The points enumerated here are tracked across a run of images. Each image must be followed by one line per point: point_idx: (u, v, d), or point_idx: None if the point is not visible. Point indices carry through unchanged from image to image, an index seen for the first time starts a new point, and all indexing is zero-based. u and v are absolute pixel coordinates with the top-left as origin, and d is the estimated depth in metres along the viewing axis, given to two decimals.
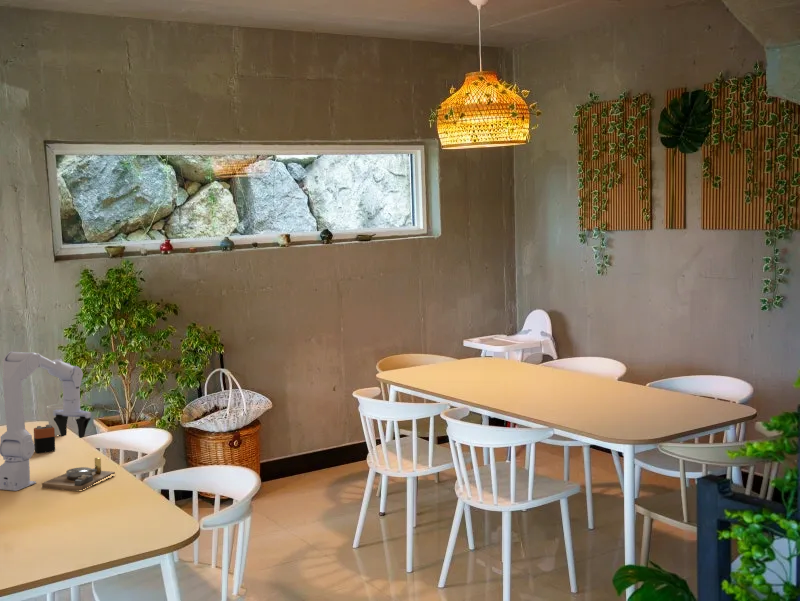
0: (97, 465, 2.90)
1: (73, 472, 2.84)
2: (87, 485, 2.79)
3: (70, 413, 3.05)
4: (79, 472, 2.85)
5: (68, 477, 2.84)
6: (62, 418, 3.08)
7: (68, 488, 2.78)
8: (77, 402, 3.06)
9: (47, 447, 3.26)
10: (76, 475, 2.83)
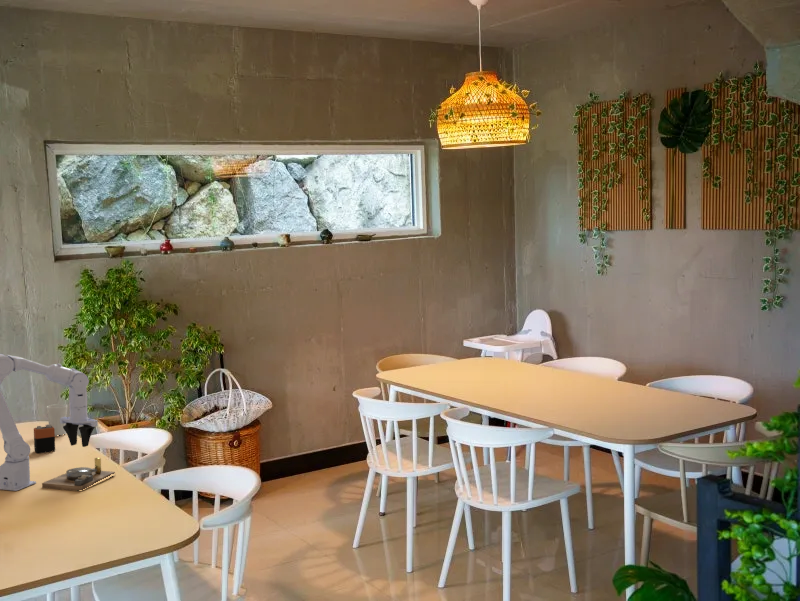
0: (97, 465, 2.90)
1: (73, 472, 2.84)
2: (87, 485, 2.79)
3: (76, 421, 2.90)
4: (79, 472, 2.85)
5: (68, 477, 2.84)
6: (72, 426, 2.94)
7: (68, 488, 2.78)
8: (83, 410, 2.91)
9: (47, 447, 3.26)
10: (76, 475, 2.83)
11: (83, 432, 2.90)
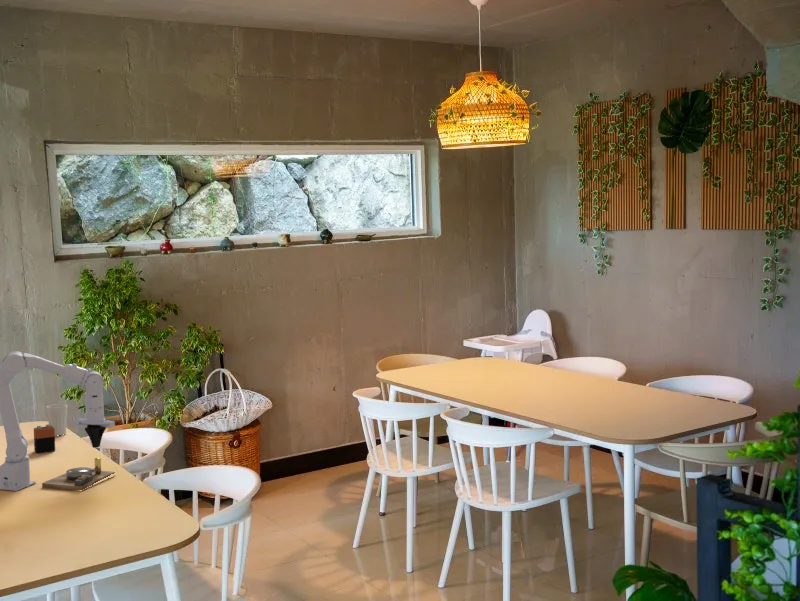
0: (97, 465, 2.90)
1: (73, 472, 2.84)
2: (87, 485, 2.79)
3: (93, 422, 2.88)
4: (79, 472, 2.85)
5: (68, 477, 2.84)
6: None
7: (68, 488, 2.78)
8: (100, 411, 2.89)
9: (47, 447, 3.26)
10: (76, 475, 2.83)
11: (95, 433, 2.88)
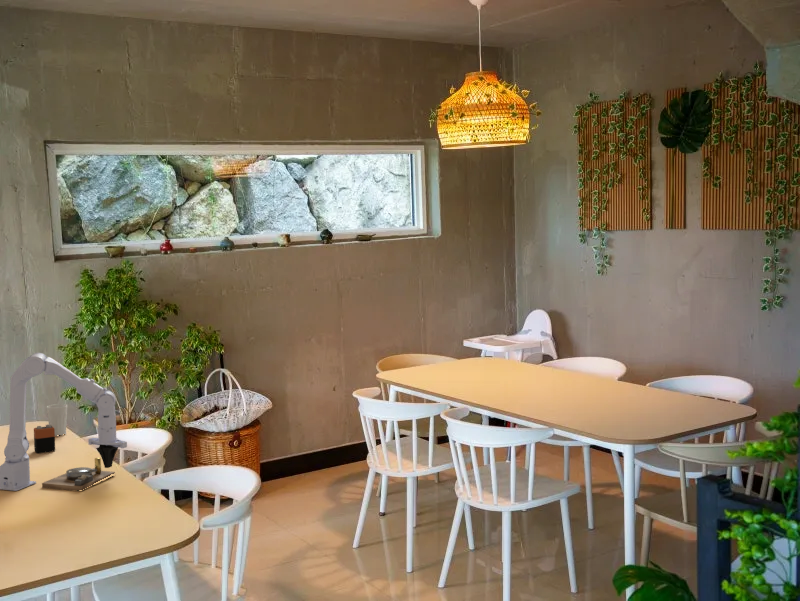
0: (97, 465, 2.90)
1: (73, 472, 2.84)
2: (87, 485, 2.79)
3: (105, 443, 2.86)
4: (79, 472, 2.85)
5: (68, 477, 2.84)
6: None
7: (68, 488, 2.78)
8: (112, 431, 2.87)
9: (47, 447, 3.26)
10: (76, 475, 2.83)
11: (107, 453, 2.87)
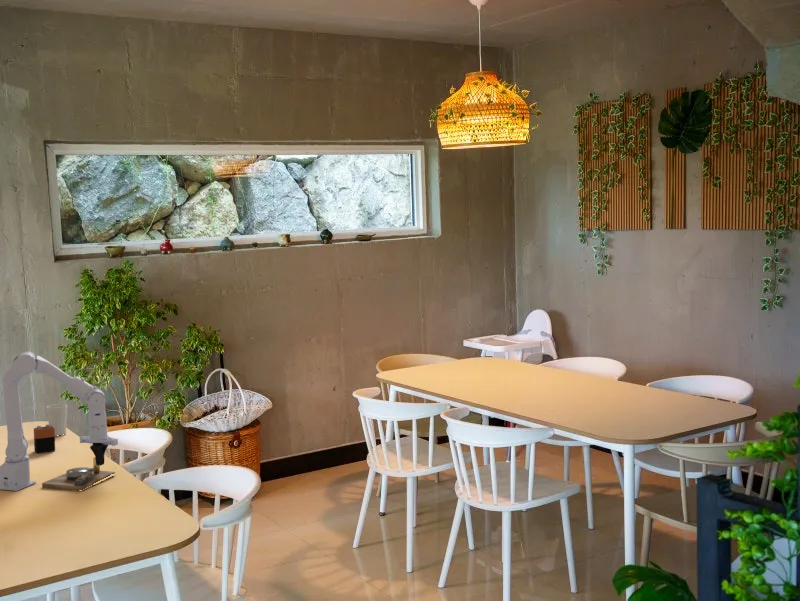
0: None
1: (74, 473, 2.84)
2: (87, 485, 2.79)
3: (96, 440, 2.88)
4: (80, 472, 2.85)
5: (69, 477, 2.84)
6: None
7: (68, 488, 2.78)
8: (103, 429, 2.89)
9: (47, 447, 3.26)
10: (78, 475, 2.83)
11: (97, 451, 2.89)
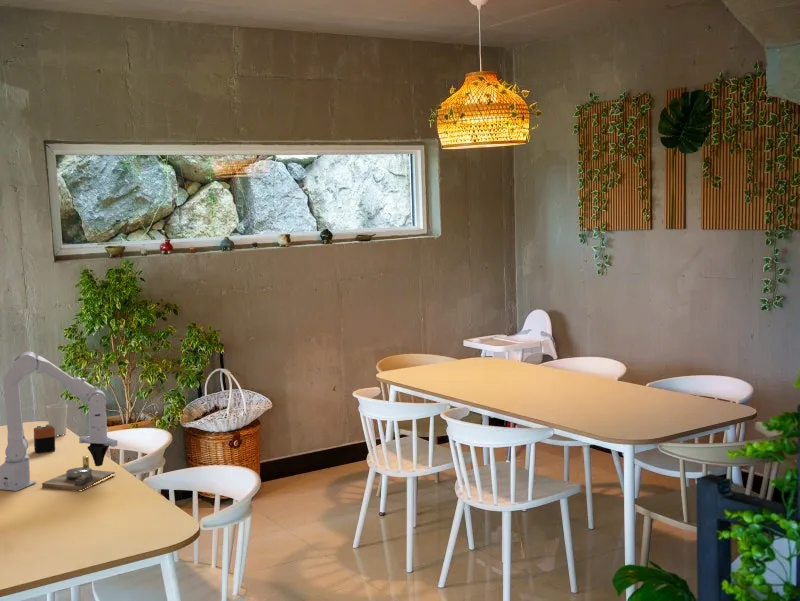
0: (87, 463, 2.93)
1: (80, 472, 2.84)
2: (87, 485, 2.79)
3: (96, 441, 2.87)
4: (85, 471, 2.86)
5: (77, 478, 2.83)
6: None
7: (68, 488, 2.78)
8: (103, 430, 2.89)
9: (47, 447, 3.26)
10: (86, 474, 2.85)
11: (97, 452, 2.88)
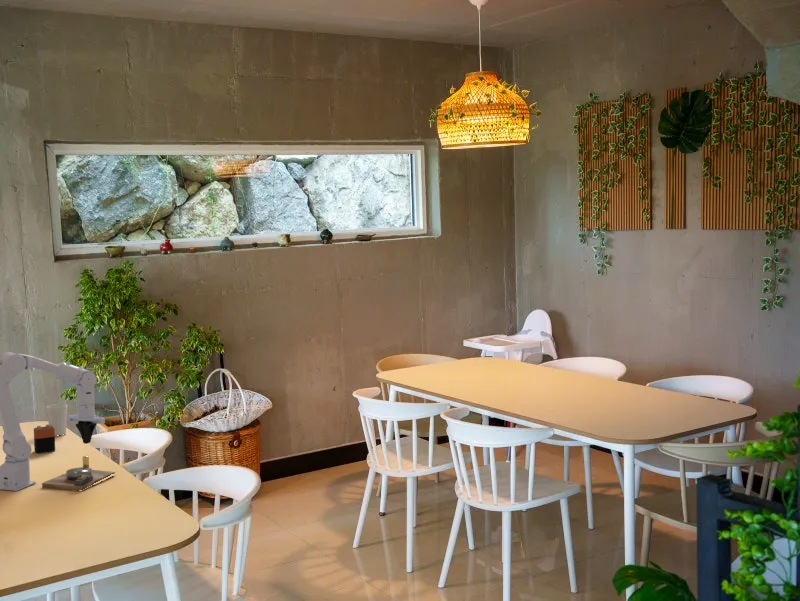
0: (87, 463, 2.93)
1: (80, 472, 2.84)
2: (87, 485, 2.79)
3: (84, 419, 2.94)
4: (85, 471, 2.86)
5: (77, 478, 2.83)
6: None
7: (68, 488, 2.78)
8: (91, 407, 2.95)
9: (47, 447, 3.26)
10: (86, 474, 2.85)
11: (85, 429, 2.95)
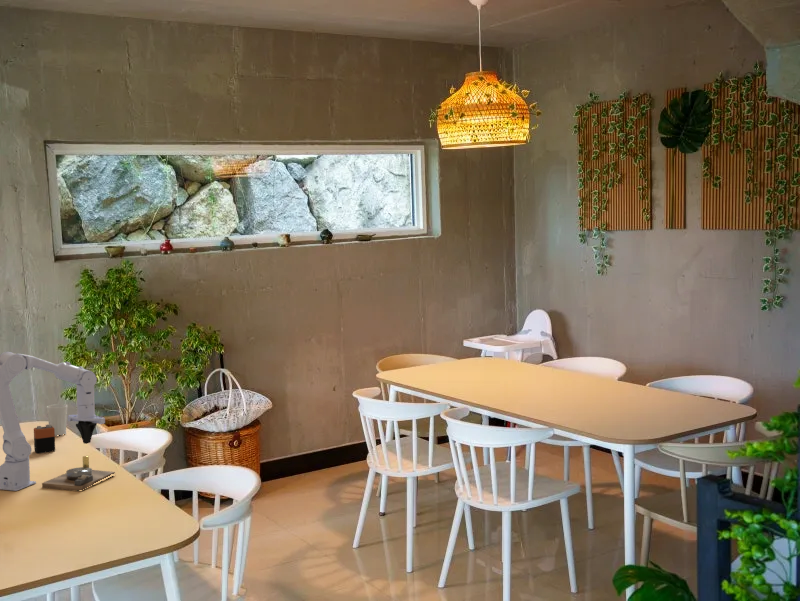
0: (87, 463, 2.93)
1: (80, 472, 2.84)
2: (87, 485, 2.79)
3: (84, 419, 2.94)
4: (85, 471, 2.86)
5: (77, 478, 2.83)
6: None
7: (68, 488, 2.78)
8: (91, 407, 2.95)
9: (47, 447, 3.26)
10: (86, 474, 2.85)
11: (85, 429, 2.95)
